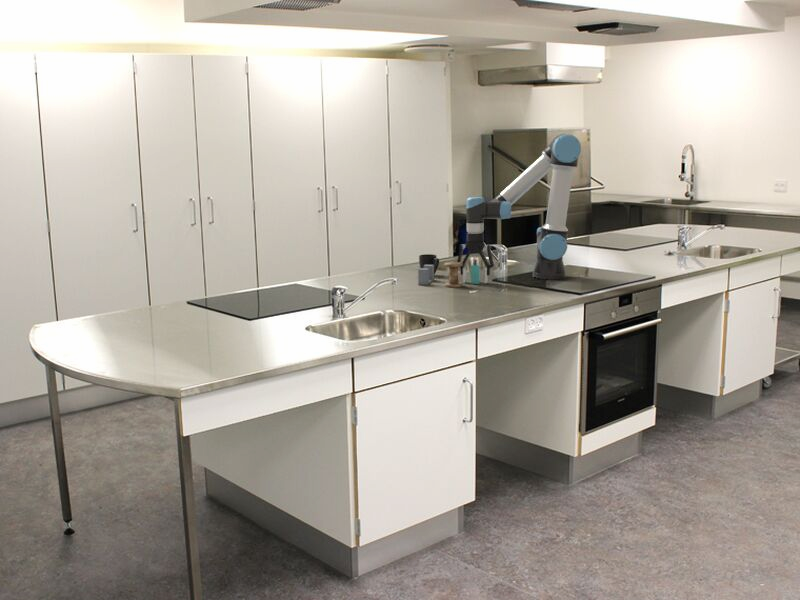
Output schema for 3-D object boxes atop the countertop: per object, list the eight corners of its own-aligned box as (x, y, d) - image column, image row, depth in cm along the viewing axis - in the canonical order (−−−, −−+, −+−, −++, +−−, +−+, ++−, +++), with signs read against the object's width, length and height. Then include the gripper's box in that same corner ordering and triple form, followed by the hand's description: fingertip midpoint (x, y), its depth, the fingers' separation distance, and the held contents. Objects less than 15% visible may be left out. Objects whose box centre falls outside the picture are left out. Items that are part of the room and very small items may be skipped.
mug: (430, 278, 404) (430, 258, 403) (415, 275, 414) (415, 255, 412) (445, 276, 409) (444, 256, 407) (430, 273, 419) (429, 253, 417)
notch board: (434, 279, 401) (433, 264, 400) (427, 285, 388) (427, 269, 386) (425, 279, 402) (425, 264, 401) (418, 285, 389) (418, 269, 388)
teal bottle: (479, 282, 393) (479, 259, 391) (478, 283, 389) (478, 260, 387) (472, 282, 393) (472, 259, 391) (470, 283, 390) (470, 260, 388)
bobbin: (464, 284, 388) (464, 262, 386) (461, 287, 380) (460, 265, 378) (446, 284, 390) (446, 261, 388) (443, 287, 382) (442, 264, 380)
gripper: (501, 231, 388) (500, 281, 392) (452, 231, 393) (452, 280, 398) (498, 233, 381) (498, 284, 385) (449, 233, 386) (449, 283, 390)
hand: (475, 282), depth 391 cm, fingers open, 9 cm apart
